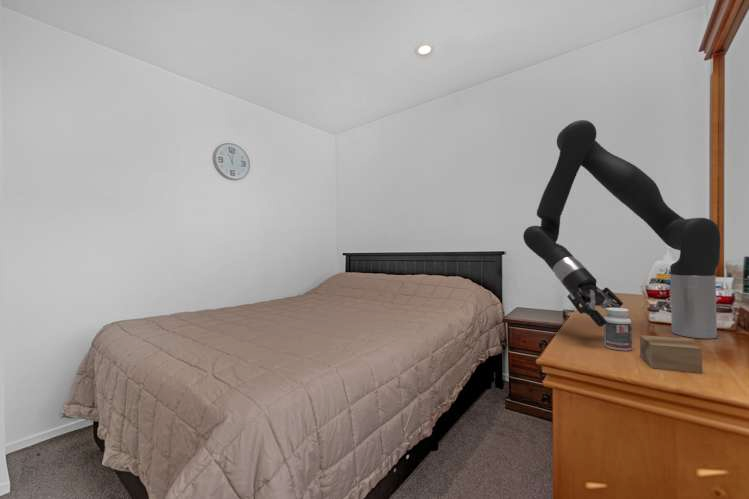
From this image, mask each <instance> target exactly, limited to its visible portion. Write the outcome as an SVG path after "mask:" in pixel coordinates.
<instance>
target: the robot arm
mask: <svg viewBox="0 0 749 499" xmlns="http://www.w3.org/2000/svg"><path fill="white" fill-rule="evenodd" d="M597 134H598V133H597V128H596V126H595V125H594V124H593V123H592V122H591V121H590V120H585V119H581V120H575V121H573V122H571V123H569V124H568V125H567V126H565V127H564V128H563V129H562V130H560V132H559V133H558V135H557V138H556V146H557V149H558V150H559V156H558V159H557V162H556V166H555V168H554V170H553V173H552V175H551V176H550V179H549V180H548V183H547V184H546V187H545V189H544V191H543V193H542V195H541V199H540V202H539V204H538V207H537V210H536V216H537V217H538V218H539V219H540V221H541V222H540V226H539V225H531V226H528V227H527V228H526V229H525V230H524V232H523V236H522V237H523V241H524V243H525V245H526V247H528V249H530V250H531V251H532V252H533V253H534V254H536V256H538V257H539V258H541V259H542V260H543V261H544V262H545V263H546V265H547V266H548V267H549V269H551V271H552V272H553V273H554V275H555V277H556V278H557V279H558V280H559V282H560V283H561V284H562V285H563V286H564V288H565V289H566V290H567V291H568V293H569V294H568V295H567V299H568V300H569V301H570V302H571V304H572V305H573V306H574V307H575V309H576V310H577V312H578V313H579V314H581V315H583V314H585V315H586V316H589V317H590V318H591V319H592V321H593V322H594V323H595V324H596V325H597V326H598V327H604V325H605V324H606V323H607V322H606V320H605V319H604V318H605V317H604V316H603V315H602V313H600V312H599V311H598V310H597V309H596V306H597V307H601V308H602V309H606V308H621V306H623V305H624V303H623V301H622V300H621V299H620V298H619V297H618V296H617V295H616V294H615V293H614V292H613V291H612V290H611V289H610V288H608V287H607V286H606V287H604V288H603V289H600V288H599V287H598V286H597V282H598V281H597V279H596V278H595V276H594V275H592V273H591V272H590V271H589V270H588V269H587V268H586V267H585V266H584V265H583V263H581V261H580V260H578V259H577V258H576V257H575V256H574V255H572V253H571V252H570V251H569V250H568V249H567V248H566V247H565V246H563V245H561V244H560V243H557V241H558V239H559V236H560V229H561V228H560V226H561V217H562V214H563V211H564V209H565V206H566V204H567V200H568V198H569V196H570V195H569V194H570V193H571V189H572V186H573V184H574V181H575V179H576V177H577V174H578V172H579V170H580V168H581V167H583V168H584V169H585V170H586V171H587V172H588V173H590V174H591V176H592V177H593V178H594V179H595V180H596V181H597V182H598V183H600V184H601V185H602V186H603V187H604V188H605V189H606V190H607V192H609V193H610V194H611V195H612V196H614V197H615V198H616V199H617V200H618V201H620V203H622V204H623V205H625V206H626V207H627V208H628V209H630V210H631V212H633V213H634V214H635V215H636V216H638V217H639V218H640V219H642V220H643V221H644V222H645V223H646V224H647V226H648V227H650V229H651V230H653V232H654V233H655V234H656V235H657V236H658V237H659V239H660V240H662V241H663V243H665V244H666V245H667V246H668V247H670V248H672V249H674V250H676V251H680V252H679V258H678V260H677V261H676V262H674V263H672V264H671V265H670V267H669V270H670V271H669V273H670V275H669V277H670V310H671V312H670V313H671V315H670V316H671V317H670V318H671V319H670V320H671V333H673V334H675V335H677V336H682V337H687V338H696V339H704V340H705V339H709V340H710V339H717V337H718V330H717V327H718V326H717V324H718V322H717V290H716V285H717V283H716V282H717V281H716V269H717V268H718V266H719V264H720V259H721V258H720V257H721V233H720V229H719V227H718V225H717V223H716V222H715V221H713V220H711V219H710V218H706V217H693V218H684V217H682V216H681V215H679V214H678V213H677V212H675V211H674V210H673V209H672V208H670V207H669V206H668V204H667V203H666V202H665V201H664V198H663V197H662V193H661V191H660V189H659V187H658V185H657V183H656V181H654V180H653V179H652V178H651V177H650V176H649V175H648V174H647V173H645V172H644V171H643V170H642V169H641V168H639V167H637V166H636V165H635V164H633V163H631V162H629V161H627V160H625V159H623V158H621V157H620V156H617V155H615V154H613V153H611V152H610V151H608V150H607V149H605V148H604V147H603V146H602V145H601V144H600V143H599V142H597V140H596V139H597ZM580 304H581V306H580ZM628 318H629V319H630V317H629V316H628Z"/></svg>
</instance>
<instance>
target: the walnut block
mask: <svg viewBox="0 0 749 499" xmlns="http://www.w3.org/2000/svg"><path fill="white" fill-rule="evenodd" d="M639 356H640V357H641V359H643V361H645V363H646V364H647V365H648V366H649V367H650V368H652V369H656V370H657V369H658V370H668V371H677V372H688V373H694V374H695V373H696V374H703V349H702V348H701V347H700V346H698V345H697V344H695V343H693V342H691V341H689V340H688V339H686V338H683V337H682V338H681V337H670V336H658V335H657V336H655V335H644V334H643V335H641V334H640V335H639Z"/></svg>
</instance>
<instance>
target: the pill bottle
mask: <svg viewBox="0 0 749 499" xmlns="http://www.w3.org/2000/svg"><path fill="white" fill-rule="evenodd" d="M605 313H606V316H605V317H603V318H604V319H605V320H606V322H607V323H606V324H605V325H603V333H604V335H603V336H604V337H603V338H604V340H603V341H604V342H603V343H604V346H605V347H606V348H608V349H611V350H613V351H615V350H616V351H621V352H622V351H625V352H627V351H631V350H632V349H633V332H632V331H633V328H632V320H631V319H630V317H629V315H630V311H629V309H628V308H624V307H620V308H605ZM628 317H629V318H628Z"/></svg>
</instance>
